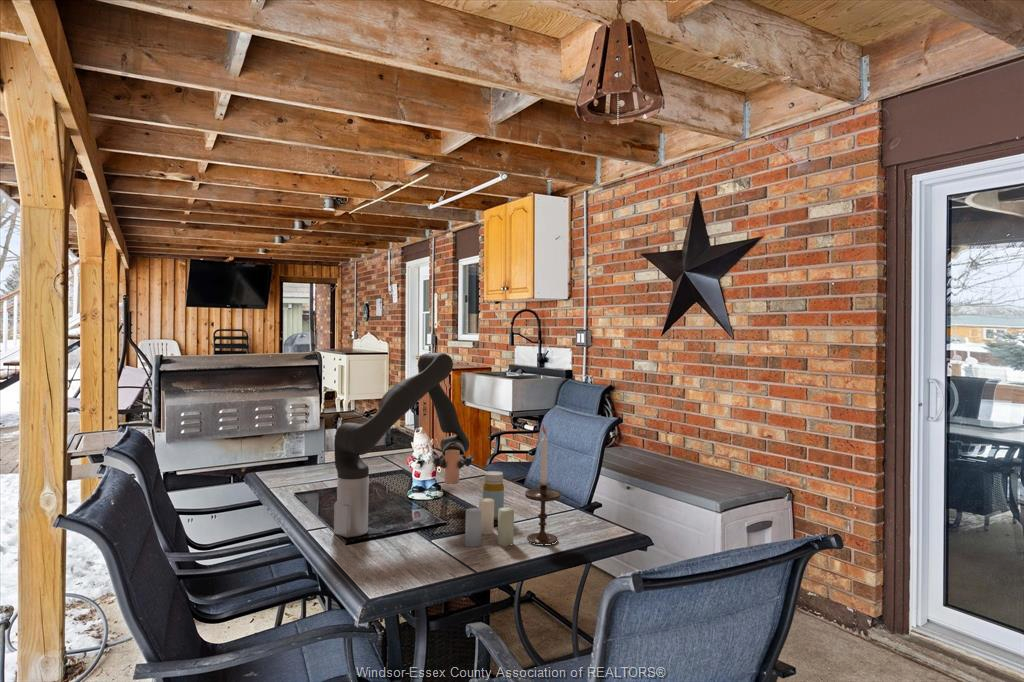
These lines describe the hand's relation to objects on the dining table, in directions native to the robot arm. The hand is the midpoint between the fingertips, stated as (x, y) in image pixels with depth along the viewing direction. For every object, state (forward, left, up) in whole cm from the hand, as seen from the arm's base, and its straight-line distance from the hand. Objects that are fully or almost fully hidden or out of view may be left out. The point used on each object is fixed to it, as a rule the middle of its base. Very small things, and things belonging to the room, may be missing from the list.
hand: (452, 465), depth 193 cm
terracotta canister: (+2, +2, -6) cm, 7 cm away
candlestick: (+9, -28, -20) cm, 36 cm away
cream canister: (+4, -11, -20) cm, 23 cm away
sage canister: (0, -21, -20) cm, 29 cm away
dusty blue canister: (-6, -14, -20) cm, 25 cm away
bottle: (+17, -3, -20) cm, 27 cm away
